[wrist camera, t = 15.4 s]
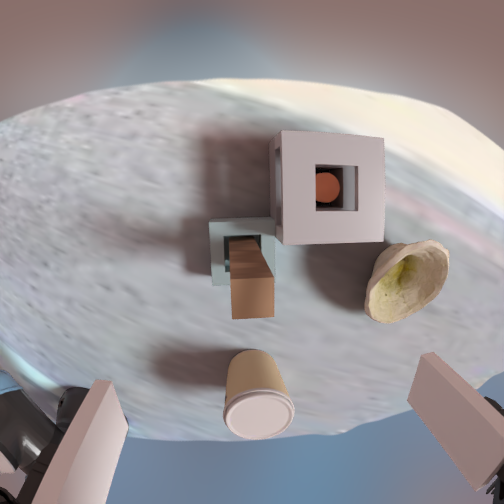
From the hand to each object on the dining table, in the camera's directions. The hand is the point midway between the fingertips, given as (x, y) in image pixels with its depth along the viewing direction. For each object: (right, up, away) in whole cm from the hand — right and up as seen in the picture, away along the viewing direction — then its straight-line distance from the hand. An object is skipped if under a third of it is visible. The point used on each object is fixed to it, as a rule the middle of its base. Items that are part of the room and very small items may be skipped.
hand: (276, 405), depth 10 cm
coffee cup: (-1, -13, +34) cm, 37 cm away
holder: (-2, +7, +30) cm, 31 cm away
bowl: (+21, +3, +33) cm, 39 cm away
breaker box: (+7, +15, +29) cm, 33 cm away
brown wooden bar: (-2, +7, +29) cm, 30 cm away
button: (+7, +15, +28) cm, 33 cm away
